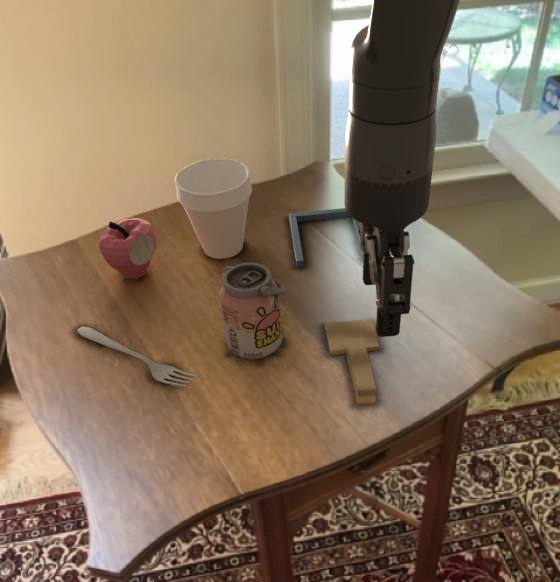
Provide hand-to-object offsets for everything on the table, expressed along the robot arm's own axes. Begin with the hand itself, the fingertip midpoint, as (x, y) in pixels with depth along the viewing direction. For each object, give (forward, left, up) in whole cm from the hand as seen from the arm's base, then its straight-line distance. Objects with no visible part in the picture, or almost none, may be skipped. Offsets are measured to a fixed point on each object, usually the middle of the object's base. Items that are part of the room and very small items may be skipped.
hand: (379, 307), depth 68 cm
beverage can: (+20, -14, -21) cm, 32 cm away
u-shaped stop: (+17, -42, -21) cm, 50 cm away
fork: (+37, -6, -21) cm, 42 cm away
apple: (+46, -26, -21) cm, 57 cm away
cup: (+34, -36, -21) cm, 53 cm away
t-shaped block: (+5, -13, -21) cm, 25 cm away
